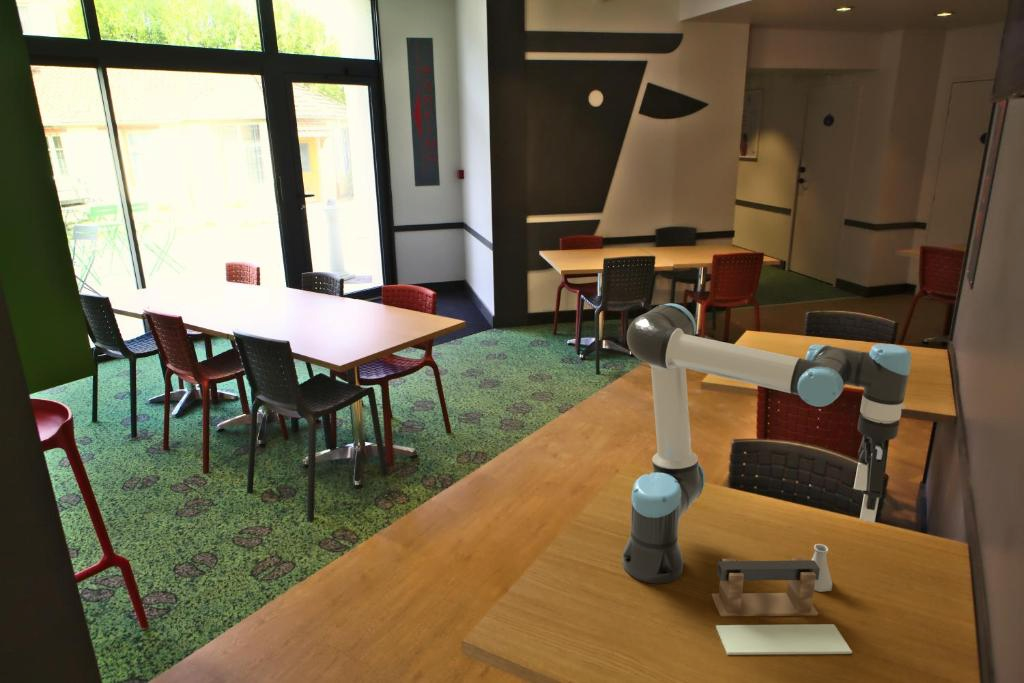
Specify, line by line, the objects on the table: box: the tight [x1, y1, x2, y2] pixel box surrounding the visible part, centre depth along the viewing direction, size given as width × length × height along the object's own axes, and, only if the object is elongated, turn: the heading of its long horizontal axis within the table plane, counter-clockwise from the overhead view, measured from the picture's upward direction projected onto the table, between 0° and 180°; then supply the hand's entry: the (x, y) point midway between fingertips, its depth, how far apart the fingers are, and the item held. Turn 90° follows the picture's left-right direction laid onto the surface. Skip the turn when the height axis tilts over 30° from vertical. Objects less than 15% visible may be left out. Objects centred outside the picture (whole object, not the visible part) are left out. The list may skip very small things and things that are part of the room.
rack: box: [711, 557, 819, 617], centre depth 149 cm, size 22×7×10 cm, turn 90°
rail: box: [716, 559, 820, 582], centre depth 147 cm, size 22×3×3 cm, turn 90°
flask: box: [811, 543, 833, 593], centre depth 156 cm, size 7×7×10 cm
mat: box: [715, 623, 853, 656], centre depth 139 cm, size 26×8×1 cm, turn 90°
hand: (863, 504), depth 144 cm, fingers open, 13 cm apart
